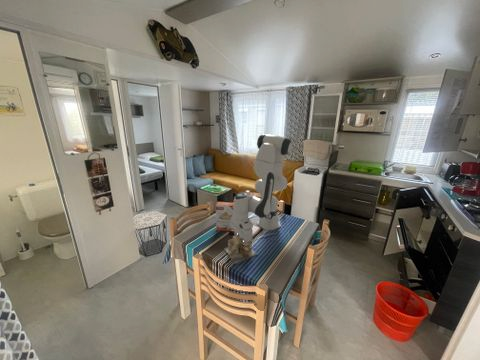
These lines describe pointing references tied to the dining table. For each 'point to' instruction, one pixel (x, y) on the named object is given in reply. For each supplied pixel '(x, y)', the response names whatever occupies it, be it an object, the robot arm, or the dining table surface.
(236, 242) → the beige irregular flat piece
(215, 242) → the dining table surface
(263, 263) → the dining table surface
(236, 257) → the jig
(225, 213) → the cracker box
